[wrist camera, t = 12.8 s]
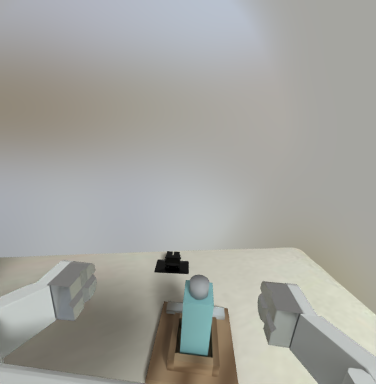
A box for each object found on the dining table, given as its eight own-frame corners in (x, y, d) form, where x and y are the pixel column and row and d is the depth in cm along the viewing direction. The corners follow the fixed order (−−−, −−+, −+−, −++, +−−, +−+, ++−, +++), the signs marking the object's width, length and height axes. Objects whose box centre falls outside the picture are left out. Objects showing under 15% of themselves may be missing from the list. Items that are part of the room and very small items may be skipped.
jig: (145, 384, 29) (145, 368, 28) (164, 305, 42) (164, 292, 41) (238, 397, 28) (241, 381, 27) (227, 312, 41) (229, 299, 40)
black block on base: (193, 261, 58) (194, 248, 57) (193, 278, 51) (195, 264, 50) (153, 259, 58) (153, 246, 57) (148, 275, 51) (148, 261, 50)
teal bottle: (179, 359, 31) (183, 291, 27) (182, 332, 36) (186, 270, 31) (206, 362, 31) (215, 294, 27) (206, 335, 35) (213, 273, 31)
